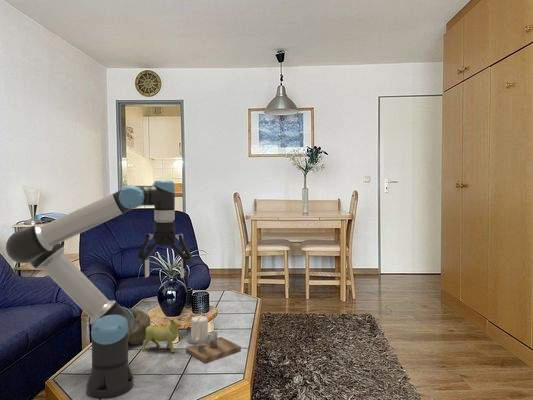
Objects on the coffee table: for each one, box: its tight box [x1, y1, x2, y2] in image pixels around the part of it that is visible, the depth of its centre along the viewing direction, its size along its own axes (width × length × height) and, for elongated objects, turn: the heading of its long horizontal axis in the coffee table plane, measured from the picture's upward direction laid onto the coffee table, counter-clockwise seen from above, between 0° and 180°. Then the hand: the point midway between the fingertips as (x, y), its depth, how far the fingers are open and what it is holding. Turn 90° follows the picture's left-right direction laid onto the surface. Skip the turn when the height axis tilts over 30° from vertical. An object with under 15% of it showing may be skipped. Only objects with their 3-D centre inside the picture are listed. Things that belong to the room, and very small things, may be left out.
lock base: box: [185, 331, 242, 364], centre depth 173 cm, size 18×14×8 cm
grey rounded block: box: [190, 315, 209, 342], centre depth 185 cm, size 8×7×9 cm
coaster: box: [186, 334, 210, 345], centre depth 186 cm, size 11×11×1 cm
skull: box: [127, 307, 151, 346], centre depth 181 cm, size 15×22×15 cm
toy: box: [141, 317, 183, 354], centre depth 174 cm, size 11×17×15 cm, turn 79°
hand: (164, 276), depth 158 cm, fingers open, 13 cm apart
